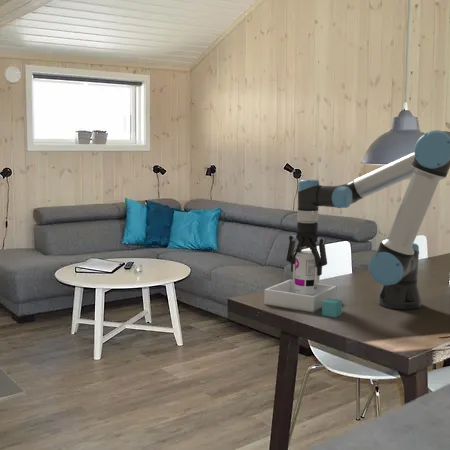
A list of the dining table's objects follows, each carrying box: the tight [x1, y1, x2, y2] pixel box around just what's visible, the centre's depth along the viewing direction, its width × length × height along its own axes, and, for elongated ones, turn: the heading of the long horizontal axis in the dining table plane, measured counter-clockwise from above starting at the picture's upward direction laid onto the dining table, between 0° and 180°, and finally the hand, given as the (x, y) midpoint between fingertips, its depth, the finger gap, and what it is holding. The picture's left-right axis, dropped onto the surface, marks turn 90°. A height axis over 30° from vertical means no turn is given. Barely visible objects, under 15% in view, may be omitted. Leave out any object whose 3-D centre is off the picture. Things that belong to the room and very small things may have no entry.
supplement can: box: [295, 250, 317, 294], centre depth 234 cm, size 8×8×15 cm
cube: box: [321, 298, 343, 318], centre depth 216 cm, size 5×5×5 cm
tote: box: [263, 279, 338, 313], centre depth 232 cm, size 20×20×6 cm
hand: (305, 282), depth 235 cm, fingers closed on supplement can, 8 cm apart
